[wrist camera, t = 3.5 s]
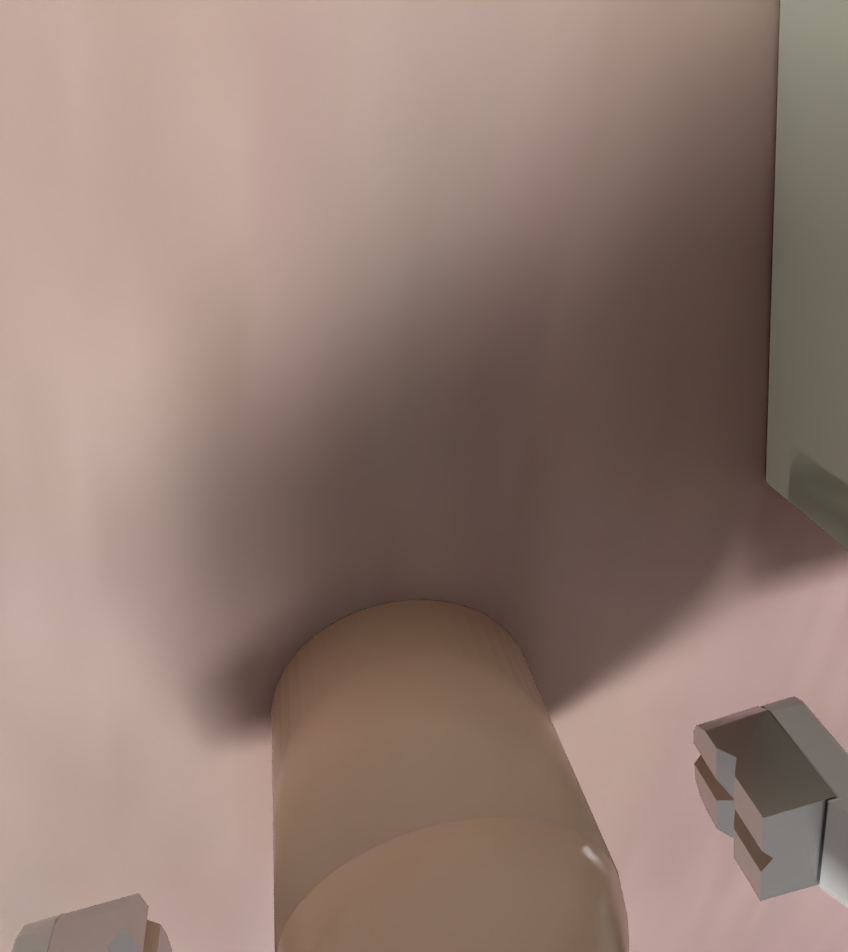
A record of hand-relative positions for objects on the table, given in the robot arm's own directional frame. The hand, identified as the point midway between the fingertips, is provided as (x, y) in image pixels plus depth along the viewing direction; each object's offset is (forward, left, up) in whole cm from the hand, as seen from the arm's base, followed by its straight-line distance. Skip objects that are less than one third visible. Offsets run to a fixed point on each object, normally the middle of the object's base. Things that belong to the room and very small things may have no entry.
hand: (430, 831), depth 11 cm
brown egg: (0, 0, -2) cm, 2 cm away
